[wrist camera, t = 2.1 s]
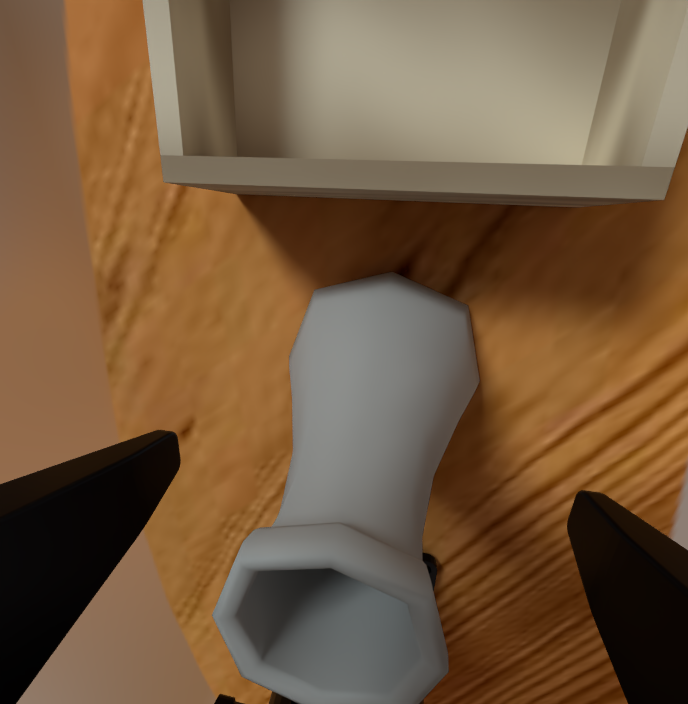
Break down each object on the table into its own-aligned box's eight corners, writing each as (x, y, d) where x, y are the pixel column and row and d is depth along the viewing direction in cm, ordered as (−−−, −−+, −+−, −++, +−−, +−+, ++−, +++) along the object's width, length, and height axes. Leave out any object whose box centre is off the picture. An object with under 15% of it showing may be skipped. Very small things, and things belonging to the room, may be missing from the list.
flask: (499, 280, 12) (772, 460, 3) (460, 459, 15) (544, 856, 6) (293, 261, 13) (19, 352, 4) (289, 431, 16) (116, 730, 7)
